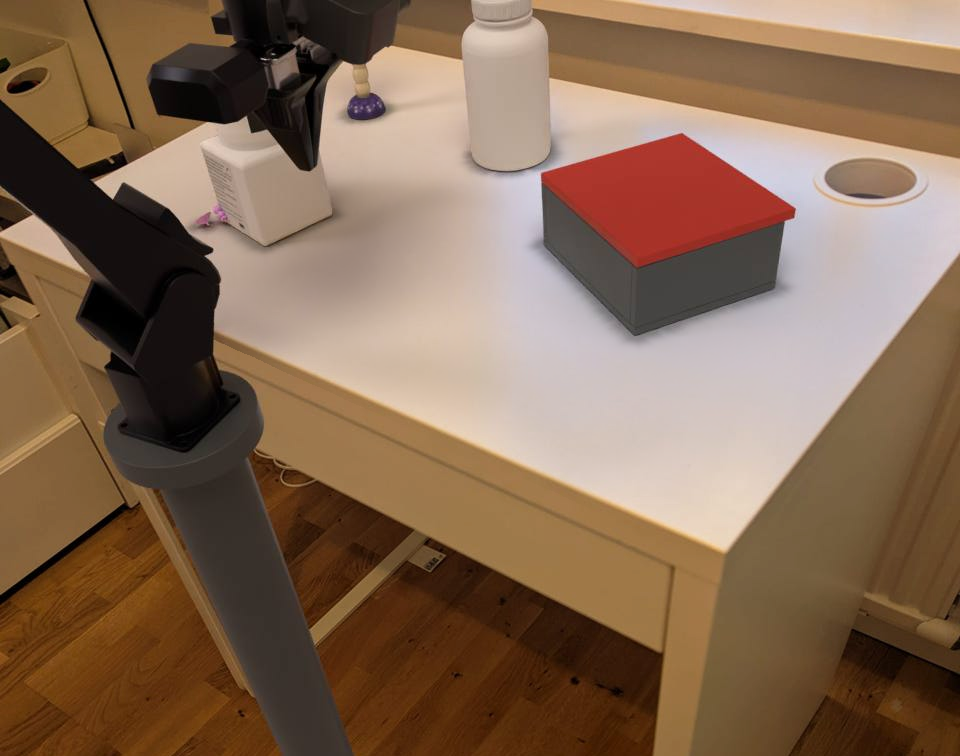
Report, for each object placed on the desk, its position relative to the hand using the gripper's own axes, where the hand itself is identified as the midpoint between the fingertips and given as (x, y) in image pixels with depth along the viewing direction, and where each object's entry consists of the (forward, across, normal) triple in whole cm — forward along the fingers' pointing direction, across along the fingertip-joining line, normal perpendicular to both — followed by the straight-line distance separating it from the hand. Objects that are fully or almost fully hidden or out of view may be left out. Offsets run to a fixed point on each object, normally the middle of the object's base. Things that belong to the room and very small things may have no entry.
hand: (308, 168), depth 65 cm
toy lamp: (+13, +36, +20) cm, 43 cm away
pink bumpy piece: (+13, +10, +21) cm, 26 cm away
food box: (+13, +16, -20) cm, 29 cm away
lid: (+7, +16, -20) cm, 27 cm away
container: (+13, +13, +16) cm, 24 cm away
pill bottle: (+13, +31, 0) cm, 34 cm away
